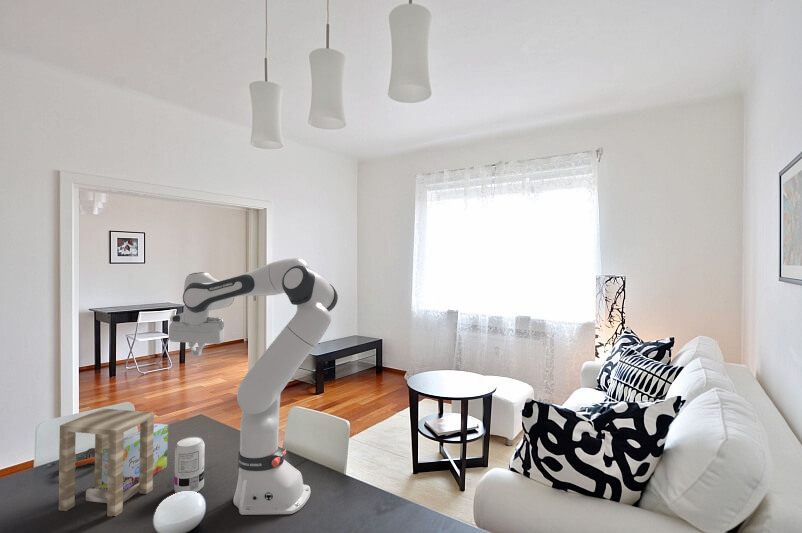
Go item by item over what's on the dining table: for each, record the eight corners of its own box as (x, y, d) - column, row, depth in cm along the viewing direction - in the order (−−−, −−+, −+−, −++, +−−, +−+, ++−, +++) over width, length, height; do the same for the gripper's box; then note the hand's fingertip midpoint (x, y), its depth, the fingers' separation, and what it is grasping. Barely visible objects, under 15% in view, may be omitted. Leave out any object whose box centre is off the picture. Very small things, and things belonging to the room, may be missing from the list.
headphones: (102, 440, 155) (118, 444, 142) (103, 455, 154) (120, 459, 142) (44, 456, 142) (56, 461, 130) (45, 472, 141) (57, 479, 129)
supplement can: (168, 493, 125) (168, 444, 125) (190, 480, 133) (191, 434, 133) (187, 499, 122) (188, 449, 122) (209, 485, 130) (210, 438, 130)
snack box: (116, 501, 121) (117, 450, 121) (100, 499, 121) (100, 449, 121) (168, 466, 142) (169, 423, 141) (153, 465, 142) (154, 422, 142)
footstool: (154, 488, 128) (155, 411, 128) (115, 516, 113) (116, 430, 113) (103, 483, 130) (104, 407, 130) (58, 510, 116) (59, 425, 116)
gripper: (228, 316, 151) (228, 354, 151) (177, 314, 154) (177, 351, 154) (218, 318, 144) (217, 358, 144) (165, 317, 147) (165, 355, 147)
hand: (196, 354), depth 149 cm, fingers closed
